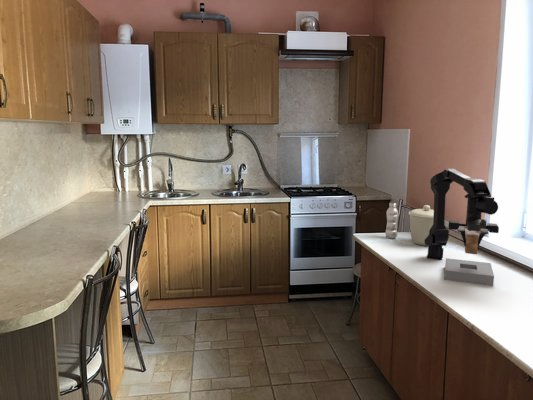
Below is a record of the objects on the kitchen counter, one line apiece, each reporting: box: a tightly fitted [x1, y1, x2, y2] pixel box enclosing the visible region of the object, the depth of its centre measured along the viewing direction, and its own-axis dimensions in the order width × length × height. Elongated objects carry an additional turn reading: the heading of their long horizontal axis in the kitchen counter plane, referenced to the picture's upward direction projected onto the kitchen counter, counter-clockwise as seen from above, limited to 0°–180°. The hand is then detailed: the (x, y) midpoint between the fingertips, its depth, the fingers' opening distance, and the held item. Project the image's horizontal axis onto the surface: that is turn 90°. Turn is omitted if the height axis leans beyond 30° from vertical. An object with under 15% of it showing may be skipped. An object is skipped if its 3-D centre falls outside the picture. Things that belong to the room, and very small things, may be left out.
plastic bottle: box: [384, 202, 399, 239], centre depth 247 cm, size 6×7×20 cm
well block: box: [444, 257, 495, 286], centre depth 186 cm, size 18×18×4 cm
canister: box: [408, 204, 434, 247], centre depth 235 cm, size 18×18×21 cm
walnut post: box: [464, 231, 479, 255], centre depth 185 cm, size 4×4×8 cm
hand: (471, 246), depth 185 cm, fingers closed on walnut post, 4 cm apart
